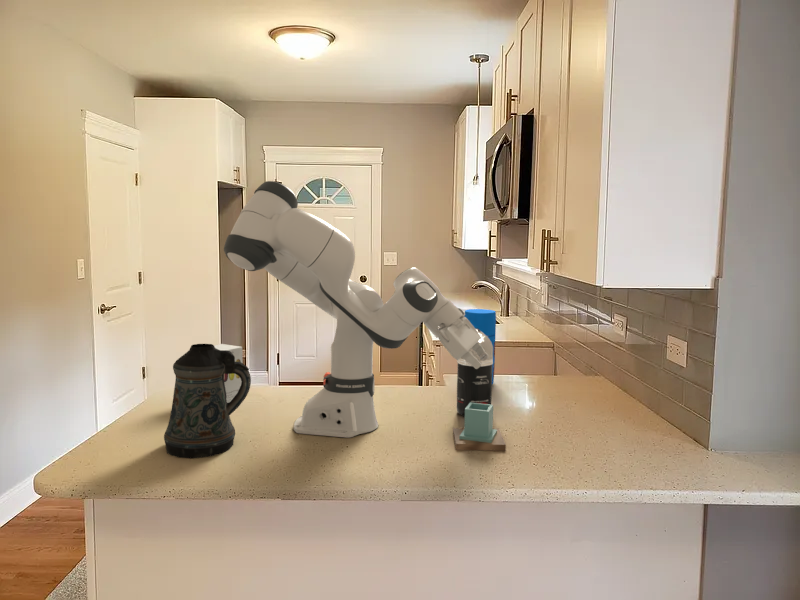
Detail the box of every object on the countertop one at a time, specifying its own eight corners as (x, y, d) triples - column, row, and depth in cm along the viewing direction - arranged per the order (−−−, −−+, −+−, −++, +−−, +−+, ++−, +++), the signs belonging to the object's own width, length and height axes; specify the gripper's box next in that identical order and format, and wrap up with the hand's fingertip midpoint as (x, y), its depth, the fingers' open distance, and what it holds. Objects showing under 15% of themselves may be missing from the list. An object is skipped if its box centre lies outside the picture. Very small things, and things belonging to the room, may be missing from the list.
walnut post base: (455, 449, 148) (456, 425, 147) (452, 433, 160) (453, 410, 159) (505, 450, 148) (506, 426, 147) (498, 433, 160) (499, 411, 159)
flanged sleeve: (459, 439, 151) (459, 409, 150) (466, 429, 159) (467, 400, 158) (491, 442, 149) (492, 413, 148) (497, 432, 156) (497, 404, 155)
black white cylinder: (498, 417, 174) (500, 330, 171) (466, 420, 170) (468, 332, 167) (480, 407, 183) (482, 324, 180) (449, 410, 179) (451, 326, 176)
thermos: (477, 376, 220) (479, 308, 217) (500, 382, 212) (502, 311, 209) (456, 381, 213) (457, 310, 210) (479, 388, 205) (481, 314, 202)
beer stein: (154, 444, 150) (150, 344, 147) (229, 428, 162) (227, 335, 159) (179, 464, 137) (175, 355, 134) (258, 445, 149) (256, 345, 146)
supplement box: (220, 407, 180) (219, 351, 178) (199, 402, 185) (197, 348, 183) (244, 399, 188) (243, 346, 186) (222, 395, 193) (221, 343, 191)
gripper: (444, 319, 143) (484, 363, 141) (462, 308, 162) (498, 347, 160) (425, 336, 144) (465, 380, 143) (445, 323, 164) (481, 362, 162)
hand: (482, 362), depth 152 cm, fingers open, 8 cm apart
